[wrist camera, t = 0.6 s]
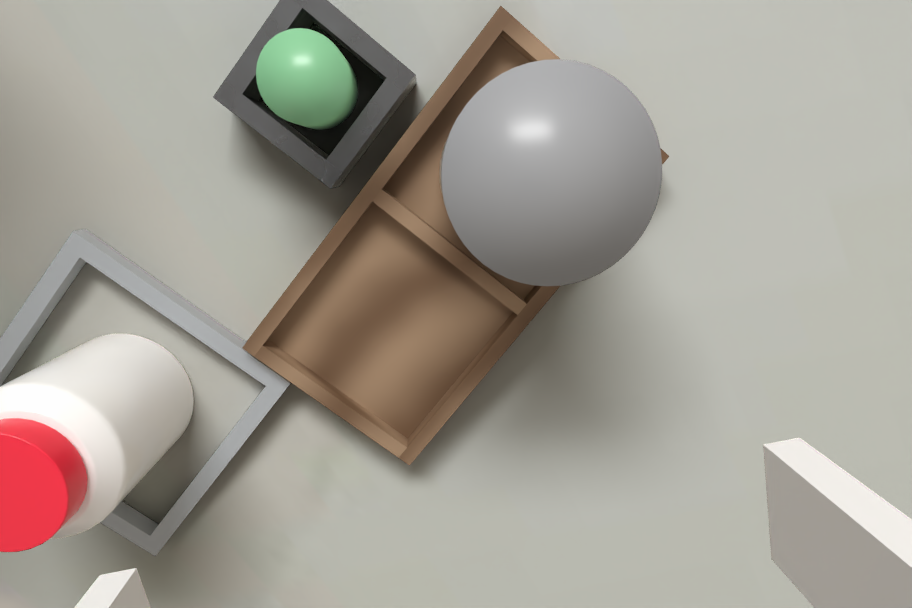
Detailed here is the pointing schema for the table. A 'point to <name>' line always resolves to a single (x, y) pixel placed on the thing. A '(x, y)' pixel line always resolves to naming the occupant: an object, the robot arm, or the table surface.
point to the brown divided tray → (405, 282)
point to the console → (241, 96)
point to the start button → (306, 79)
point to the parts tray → (140, 283)
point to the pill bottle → (85, 435)
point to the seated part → (551, 172)
